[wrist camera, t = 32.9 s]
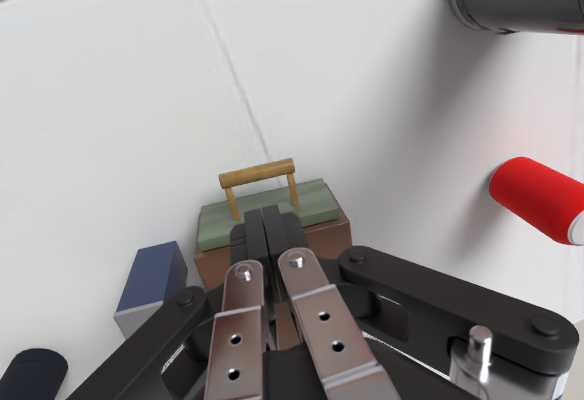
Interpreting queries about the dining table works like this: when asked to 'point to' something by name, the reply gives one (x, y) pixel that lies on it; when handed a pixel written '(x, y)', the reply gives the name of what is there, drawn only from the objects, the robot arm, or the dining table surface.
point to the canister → (150, 285)
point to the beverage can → (541, 198)
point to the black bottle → (33, 376)
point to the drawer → (264, 202)
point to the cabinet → (322, 241)
